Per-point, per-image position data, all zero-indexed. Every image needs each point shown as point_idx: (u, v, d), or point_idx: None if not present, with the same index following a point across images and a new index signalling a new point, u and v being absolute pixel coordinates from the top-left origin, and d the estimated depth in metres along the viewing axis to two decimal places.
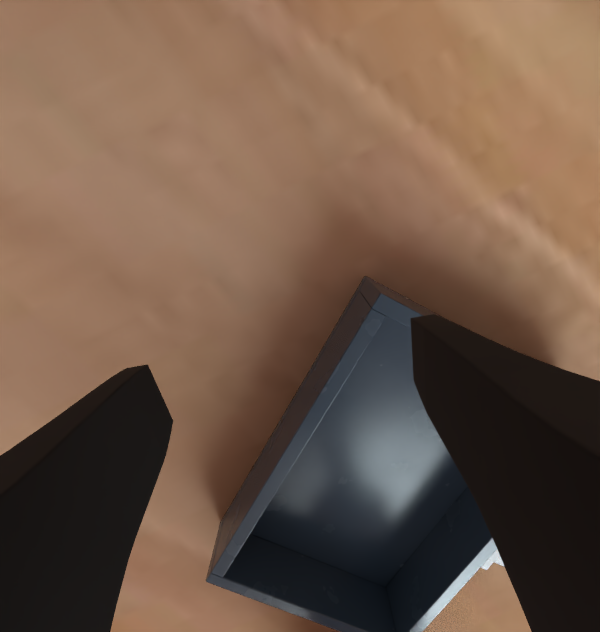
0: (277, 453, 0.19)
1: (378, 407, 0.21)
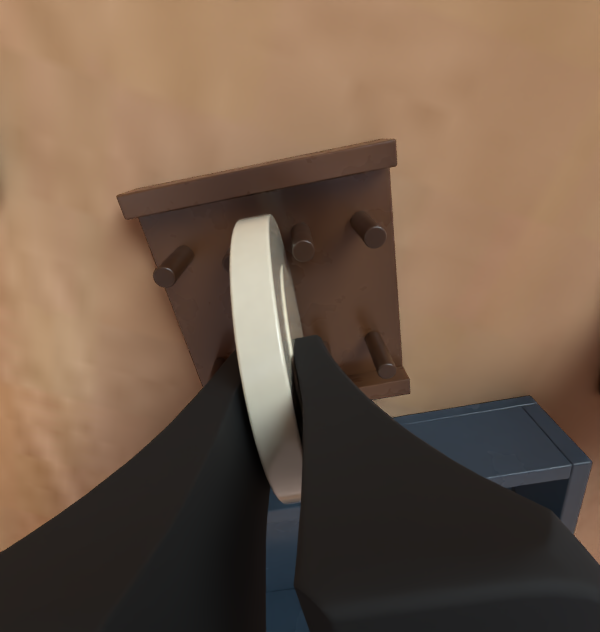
0: None
1: None
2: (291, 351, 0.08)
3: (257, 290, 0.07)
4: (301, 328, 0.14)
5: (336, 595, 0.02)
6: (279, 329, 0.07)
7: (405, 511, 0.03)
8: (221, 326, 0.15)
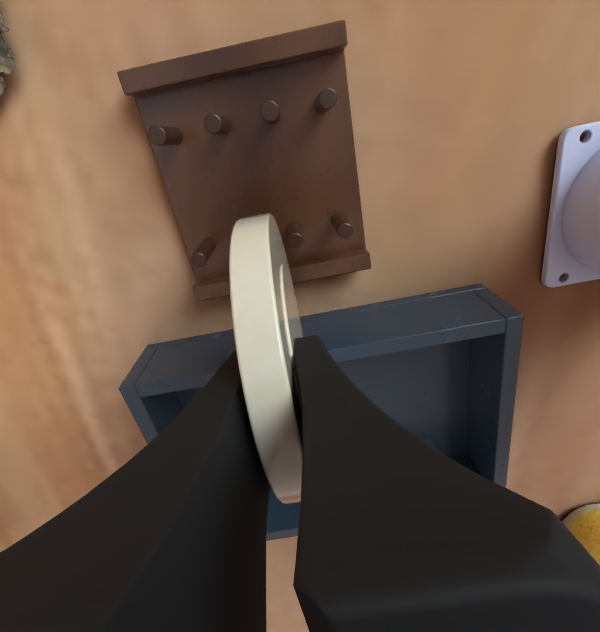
0: None
1: None
2: (291, 351, 0.08)
3: (257, 289, 0.07)
4: (301, 328, 0.14)
5: (335, 595, 0.02)
6: (279, 328, 0.07)
7: (405, 511, 0.03)
8: (207, 207, 0.17)
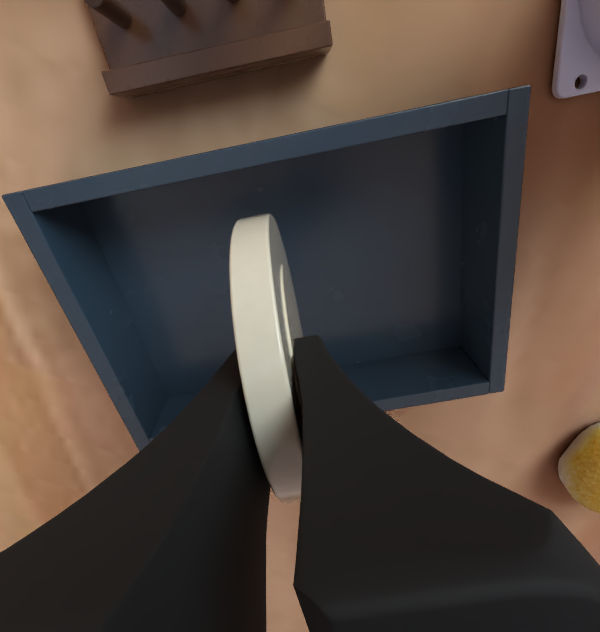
0: None
1: None
2: (291, 351, 0.08)
3: (257, 290, 0.07)
4: (301, 328, 0.14)
5: (335, 594, 0.02)
6: (279, 329, 0.07)
7: (405, 511, 0.03)
8: None
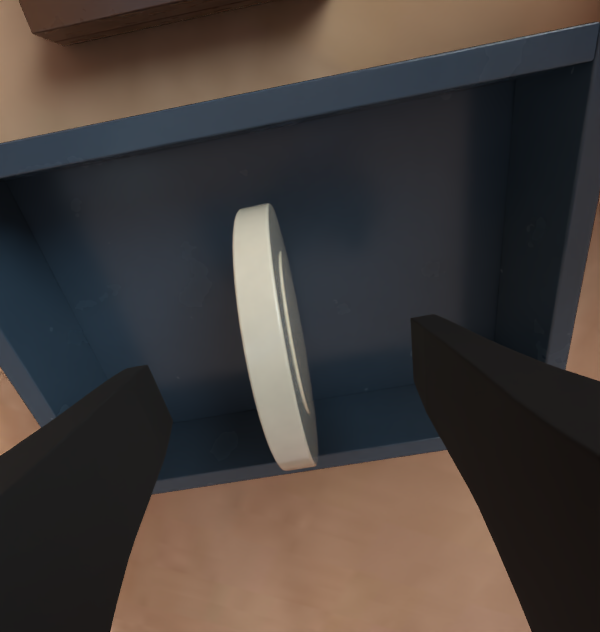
0: None
1: (221, 345, 0.16)
2: (288, 323, 0.09)
3: (257, 263, 0.08)
4: None
5: None
6: (276, 296, 0.08)
7: None
8: None
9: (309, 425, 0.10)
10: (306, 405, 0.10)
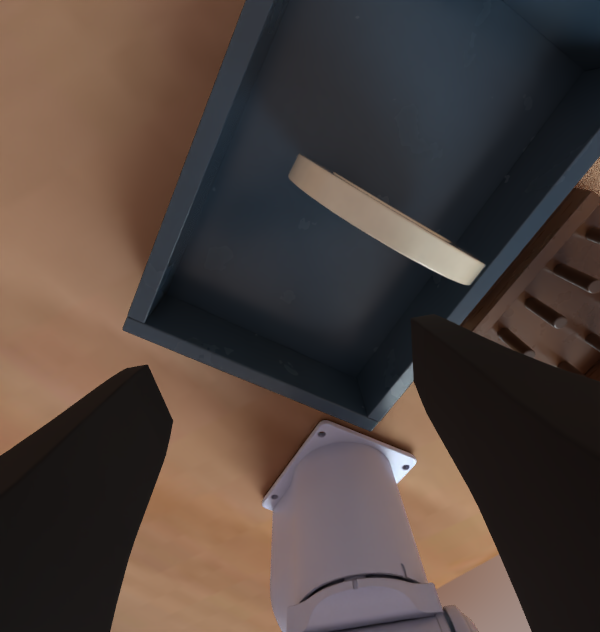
0: None
1: (351, 98, 0.15)
2: None
3: None
4: None
5: None
6: (466, 284, 0.12)
7: None
8: None
9: None
10: None
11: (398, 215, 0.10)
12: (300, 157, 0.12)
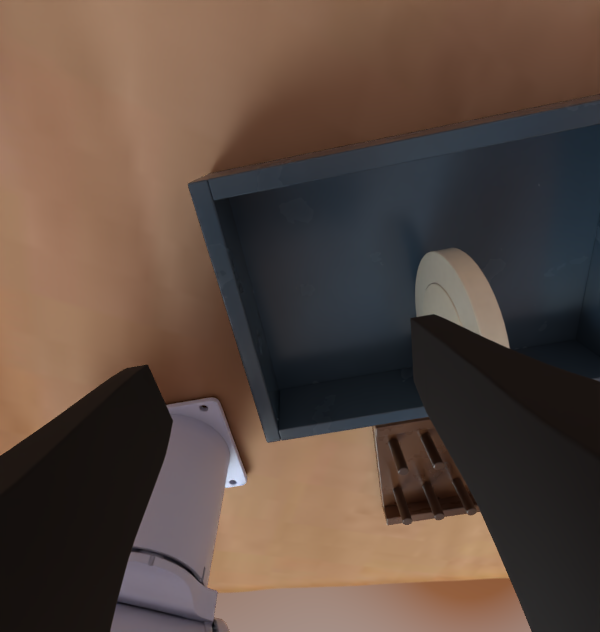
0: (427, 133, 0.14)
1: (486, 221, 0.18)
2: None
3: None
4: (421, 271, 0.18)
5: None
6: None
7: None
8: None
9: None
10: None
11: None
12: (482, 275, 0.13)
